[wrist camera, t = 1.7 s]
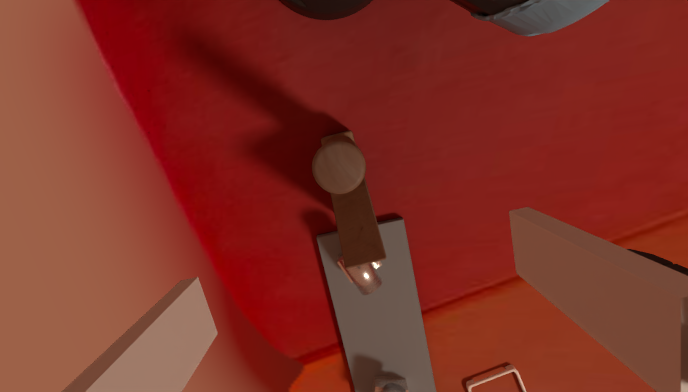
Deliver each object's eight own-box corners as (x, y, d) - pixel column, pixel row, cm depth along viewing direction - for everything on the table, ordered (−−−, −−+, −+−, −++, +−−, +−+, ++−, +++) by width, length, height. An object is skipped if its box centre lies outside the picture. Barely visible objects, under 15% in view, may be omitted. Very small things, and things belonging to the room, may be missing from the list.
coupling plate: (317, 235, 40) (316, 237, 39) (402, 217, 40) (403, 219, 39) (360, 407, 46) (361, 413, 45) (435, 393, 45) (437, 399, 44)
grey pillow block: (333, 250, 40) (332, 267, 35) (363, 232, 39) (366, 247, 34) (354, 281, 41) (356, 302, 36) (384, 263, 40) (389, 282, 35)
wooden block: (345, 221, 40) (345, 294, 22) (321, 137, 38) (302, 146, 20) (373, 213, 40) (396, 282, 22) (351, 129, 38) (357, 130, 20)
